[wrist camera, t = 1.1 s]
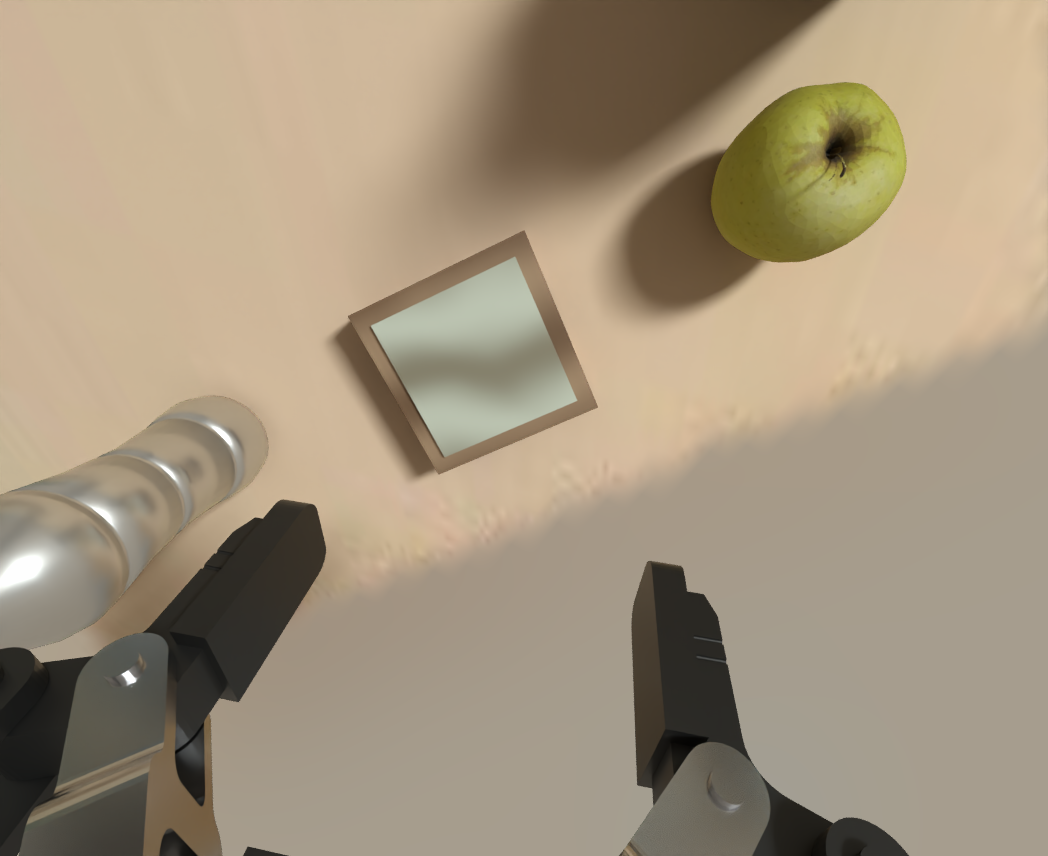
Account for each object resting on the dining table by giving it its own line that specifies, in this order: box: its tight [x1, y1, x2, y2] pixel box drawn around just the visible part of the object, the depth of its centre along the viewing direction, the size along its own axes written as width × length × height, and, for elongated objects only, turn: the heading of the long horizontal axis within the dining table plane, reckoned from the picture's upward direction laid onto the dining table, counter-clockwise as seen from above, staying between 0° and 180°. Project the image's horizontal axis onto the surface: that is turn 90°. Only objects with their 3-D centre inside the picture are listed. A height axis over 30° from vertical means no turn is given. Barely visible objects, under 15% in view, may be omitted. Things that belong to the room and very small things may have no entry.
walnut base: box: [348, 231, 598, 474], centre depth 30 cm, size 11×11×3 cm
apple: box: [711, 82, 906, 262], centre depth 24 cm, size 8×8×10 cm
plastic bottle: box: [0, 396, 268, 650], centre depth 24 cm, size 6×7×20 cm
